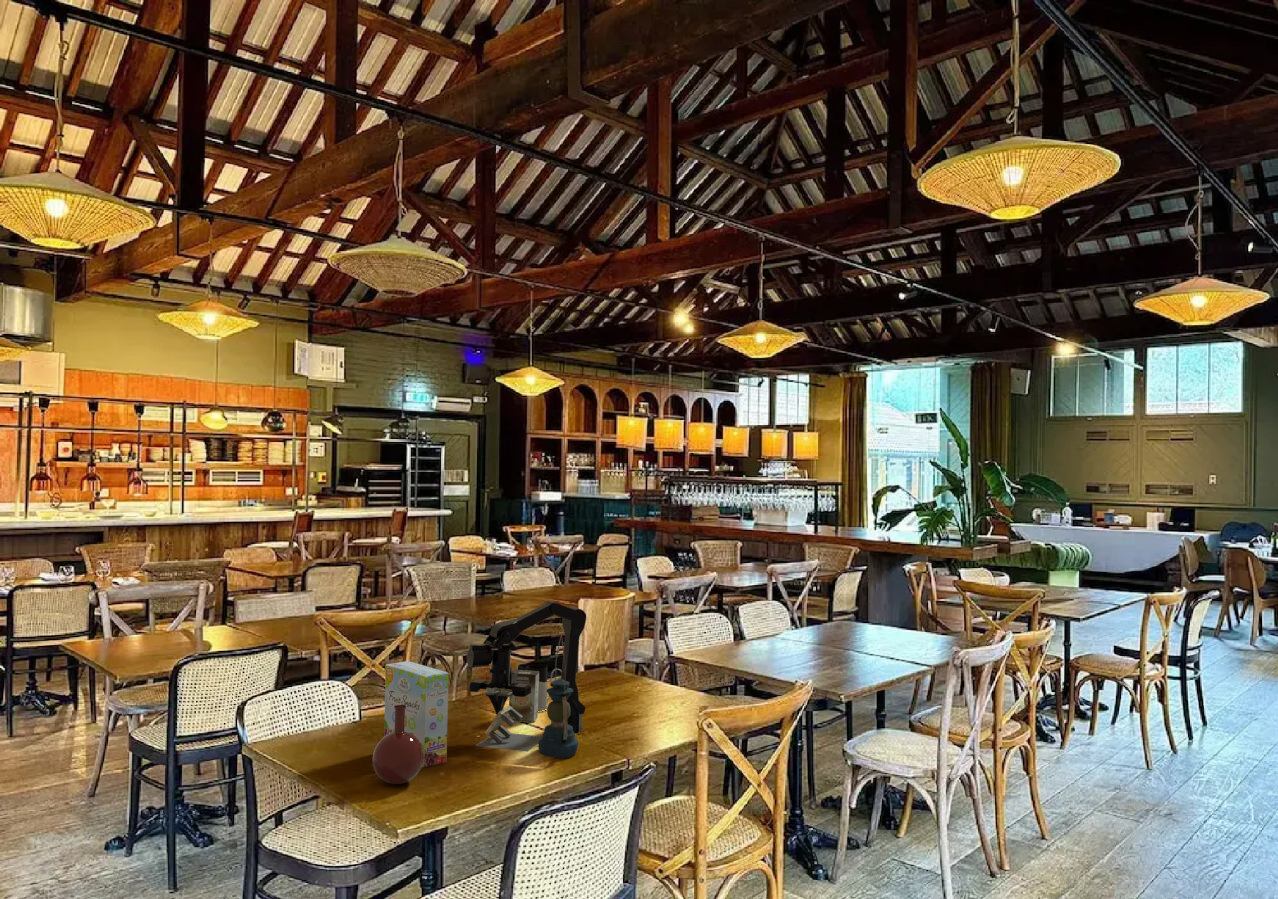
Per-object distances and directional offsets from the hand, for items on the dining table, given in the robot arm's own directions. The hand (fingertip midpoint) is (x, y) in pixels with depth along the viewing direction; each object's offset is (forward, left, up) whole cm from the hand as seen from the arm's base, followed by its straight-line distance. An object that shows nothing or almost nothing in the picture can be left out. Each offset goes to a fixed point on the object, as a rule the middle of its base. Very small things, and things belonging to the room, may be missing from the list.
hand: (498, 716), depth 270 cm
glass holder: (+1, -42, -8) cm, 43 cm away
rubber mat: (-5, 0, -8) cm, 9 cm away
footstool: (0, 0, -6) cm, 6 cm away
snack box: (+16, +22, -8) cm, 29 cm away
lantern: (-22, +5, -8) cm, 24 cm away
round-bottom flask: (+9, +43, -8) cm, 45 cm away
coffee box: (+2, -26, -8) cm, 27 cm away
